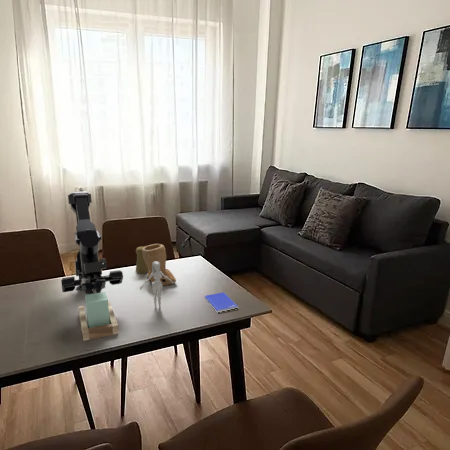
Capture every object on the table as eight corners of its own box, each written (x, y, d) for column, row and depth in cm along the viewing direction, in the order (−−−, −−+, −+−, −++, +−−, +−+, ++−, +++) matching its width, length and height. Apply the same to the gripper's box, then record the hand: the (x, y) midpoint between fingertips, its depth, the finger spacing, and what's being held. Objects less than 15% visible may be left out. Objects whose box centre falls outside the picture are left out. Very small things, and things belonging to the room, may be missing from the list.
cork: (152, 269, 165) (151, 246, 162) (145, 274, 159) (144, 250, 156) (140, 267, 167) (139, 244, 164) (132, 272, 161) (131, 248, 158)
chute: (79, 317, 122) (78, 306, 121) (110, 311, 127) (109, 301, 126) (83, 344, 108) (82, 332, 107) (118, 336, 112) (118, 325, 111)
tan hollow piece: (141, 275, 158) (140, 241, 155) (168, 271, 163) (168, 239, 159) (147, 289, 145) (145, 253, 141) (176, 285, 149) (176, 250, 145)
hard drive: (238, 306, 130) (224, 292, 141) (217, 310, 127) (204, 295, 138) (238, 310, 131) (224, 295, 142) (217, 314, 128) (204, 299, 138)
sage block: (87, 323, 116) (85, 294, 114) (107, 320, 119) (105, 291, 116) (89, 333, 111) (87, 303, 109) (110, 329, 114) (108, 299, 111)
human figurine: (142, 317, 124) (140, 267, 119) (139, 312, 127) (137, 263, 122) (175, 308, 130) (174, 260, 125) (171, 304, 133) (170, 257, 128)
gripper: (58, 254, 113) (63, 302, 106) (120, 247, 121) (128, 291, 114) (60, 269, 122) (64, 314, 115) (117, 262, 130) (125, 303, 123)
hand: (96, 305), depth 116 cm, fingers closed, pressing on sage block
